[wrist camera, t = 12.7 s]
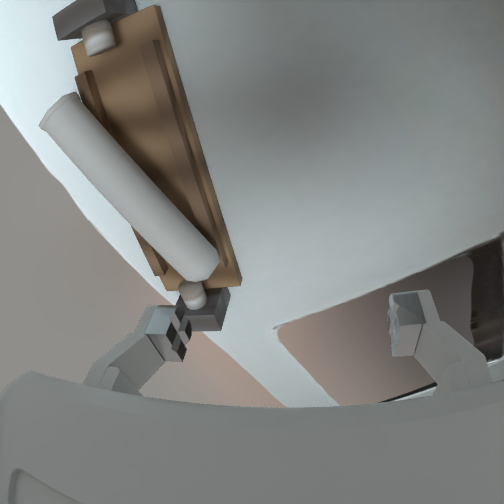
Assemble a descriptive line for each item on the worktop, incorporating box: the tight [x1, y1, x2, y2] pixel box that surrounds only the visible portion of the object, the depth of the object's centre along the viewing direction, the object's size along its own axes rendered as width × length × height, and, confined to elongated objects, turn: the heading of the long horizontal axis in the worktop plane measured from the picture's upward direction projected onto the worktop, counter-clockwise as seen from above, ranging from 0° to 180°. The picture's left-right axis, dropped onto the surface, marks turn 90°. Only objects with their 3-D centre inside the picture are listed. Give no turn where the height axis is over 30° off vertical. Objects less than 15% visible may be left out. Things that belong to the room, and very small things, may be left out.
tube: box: [39, 92, 220, 282], centre depth 31 cm, size 5×5×25 cm
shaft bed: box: [52, 0, 242, 331], centre depth 32 cm, size 41×11×6 cm, turn 13°
